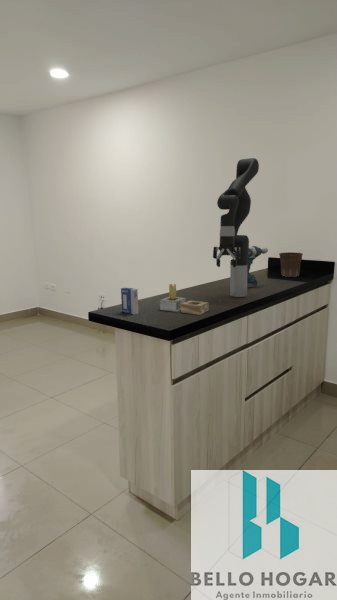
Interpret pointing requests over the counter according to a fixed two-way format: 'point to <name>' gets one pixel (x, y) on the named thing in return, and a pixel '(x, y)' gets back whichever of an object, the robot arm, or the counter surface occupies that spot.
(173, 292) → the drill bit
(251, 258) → the impact wrench
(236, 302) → the counter surface
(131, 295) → the walkman
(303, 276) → the counter surface
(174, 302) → the socket block
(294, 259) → the plant pot
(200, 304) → the rack block
